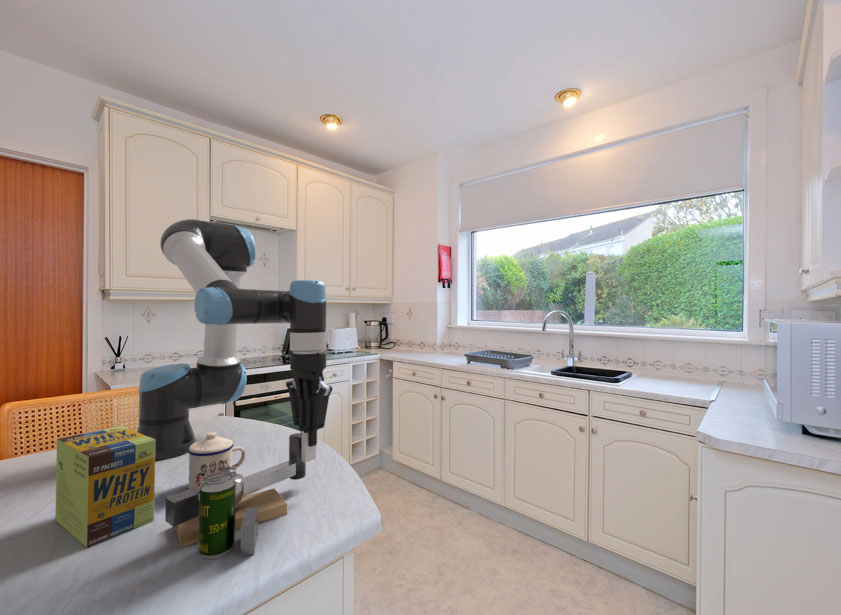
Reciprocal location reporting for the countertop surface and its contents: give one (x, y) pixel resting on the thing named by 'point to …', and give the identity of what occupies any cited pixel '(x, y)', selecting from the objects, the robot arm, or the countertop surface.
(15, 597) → the countertop surface
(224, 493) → the green drink can
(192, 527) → the press bench
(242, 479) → the lever
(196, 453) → the teacup with lid
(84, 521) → the protein box
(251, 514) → the pivot and anvil
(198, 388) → the robot arm
